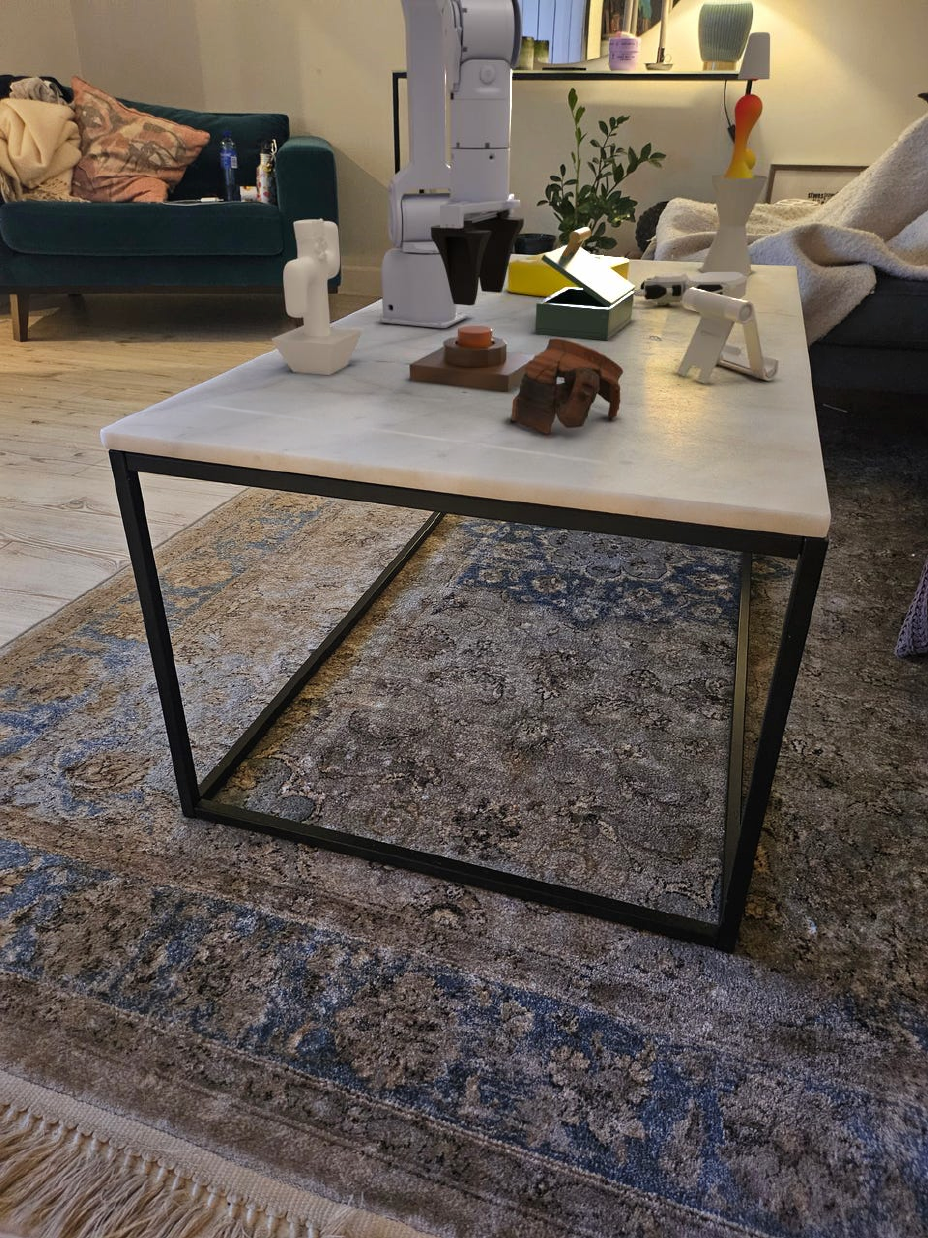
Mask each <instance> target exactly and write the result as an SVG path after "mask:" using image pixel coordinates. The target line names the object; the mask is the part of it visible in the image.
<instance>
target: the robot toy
mask: <svg viewBox="0 0 928 1238" xmlns="http://www.w3.org/2000/svg"><path fill="white" fill-rule="evenodd" d="M749 275H751V274H750V273H745V274H742V273H739V272H706V273H704V272H700V273H697V274H694V275H691V276H688V275H687V273H685V272H663V273H657V274H655V275H654V276H653V277H648V278H646V279H644V280H643V282H642V283H641V284H640V287H639V289H634V290H633V292H634V296H635V297H643V298H644V299H645V300H646V301H649V300H652V301H653V302H654V303H656V304H657V305H658V306H668V303H680V302H682V297H683V294H684V292H685V291H686V290H687V289H689V288H695V289H699V290H703V291H707V292H711V293H715V294H719V295H723V296H727V297H731V298H735V299H740V300H742V299H743V297H745V296H746V294H747V283H748V282H747V281H748V279H747V277H748V276H749Z"/></svg>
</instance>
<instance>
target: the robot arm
mask: <svg viewBox="0 0 928 1238" xmlns="http://www.w3.org/2000/svg"><path fill="white" fill-rule="evenodd" d="M400 3H401V9H402V14H403V18H404V27H405V29H404V30H405V53H406V54H405V60H406V62H405V63H406V86H407V87H406V91H407V92H406V94H407V95H406V96H407V123H408V159H409V160H408V162H407V164H406V165H405V166H404V167H402V168H401V169H400V170H399V171H398V172H397V173H396V174H394V175H393V177H392V178H391V179H390V181H389V184H388V186H387V205H386V221H387V222H386V223H387V232H388V238H389V241H390V243H391V244H392V245H393V247H394V248H390V249H388V250H387V251H386V252H385V254H384V255H383V258H382V262H381V270H380V271H381V272H380V277H381V280H380V282H381V303H382V317H381V318H380V323H385V324H393V325H394V324H395V325H403V326H405V325H406V326H415V327H426V328H435V329H446V328H448V327H450V326H453V325H454V324H456V323H458V322H461V321H463V320H465V319H467V318H468V317H469V315H468V313H463V312H457V311H458V310H457V305H458V306H459V305H460V306H461V305H462V306H475V304H476V300H477V297H478V291H479V284H480V289H481V292H484V293H495V294H496V293H498V294H500V293H502V292H503V289H504V285H505V281H506V277H507V274H508V265H509V263H510V260H511V256H512V252H513V249H514V247H515V244H516V241H517V239H518V236H519V235H520V234H521V231H522V230H523V228H524V225H525V218H524V217H521V216H520V217H519V216H518V217H517V216H511V215H514V213H515V210H517V209H519V208H521V200H520V199H515V194H514V193H510V164H511V163H510V162H511V161H510V159H511V158H510V157H511V148H510V147H511V127H512V126H511V125H512V124H511V123H512V121H511V120H512V88H513V87H512V85H513V84H512V82H513V78H512V77H513V71H514V70H515V69H516V67H517V66H518V63H519V59H520V55H521V49H522V40H523V14H522V6H521V3H520V0H400ZM446 91H447V92H449V147H450V148H449V165H448V164H447V99H446V98H447V94H446ZM412 190H447V191H449V192H425V193H424V192H421V193H420V192H419V193H415V192H414V193H407V192H409V191H412Z"/></svg>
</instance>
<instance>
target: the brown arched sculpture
mask: <svg viewBox="0 0 928 1238" xmlns="http://www.w3.org/2000/svg"><path fill="white" fill-rule="evenodd" d="M525 371H526V374H524V376H523V378H522V380H521V383H520V384H519V385H520V386H519V392H518V394H517V395H516V396H515V397H514V398H513V400H512V408H511V415H510V418H509V419H510V421H514V422H517V423H519V424H520V425H521V426H524V427H526V428H529V429H532V430H534V431H537V432H539V433H541V434H544V435H546V436H549V435H550V434H551V429H552V425H553V423H554V421H555V418H556V417H557V419H558V421H559V422H560V424H561V425H562V426H564V427H565V428H567V429H573V428H580V427H583V426H584V424H585V422H586V420H587V419H588V416H589V412H590V410H591V406H592V405H593V403H594V402H595V400H596V398H597V395H598V396H599V397H601V398H602V399H603V400H604V401H606V402H607V403H608V404H609V405H608V413H607V417H608V419H609V420H612V419H614V418H616V417H618V416H617V415H618V411H619V410H620V404H621V385H620V384H619V380H620V378H621V377H622V375H623V373H624V370H623V368H622V367H621V366H620V365H619V364H618V363H617V362H615V361H614V360H612V359H611V358H610V357H608V356H607V355H605V354H603V353H600V352H599V351H597V350H595V349H594V348H591V347H589V346H586V345H583V344H580V343H578V342H575V341H572V340H569V339H568V340H567V339H563V338H556V337H555V338H550V339H549V340H548V343H547V346H546V349H545V350H543V351H540V352H539V353H538V354H536V356H535V357H534V358H533V359H532V360H530V361H529V363H528V365H527V366H526V367H525ZM558 378H561V379H563V382H561V383H557V382H558Z"/></svg>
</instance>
